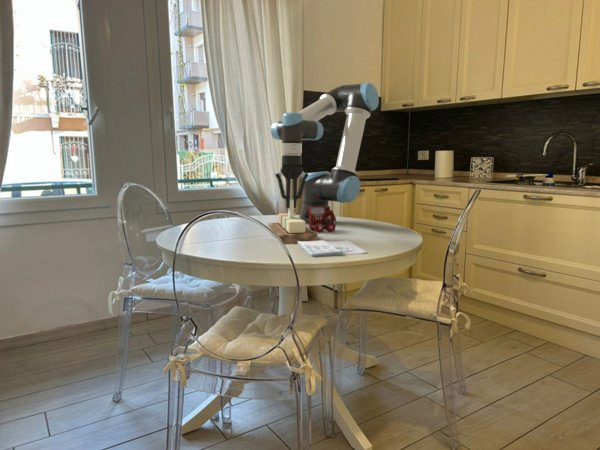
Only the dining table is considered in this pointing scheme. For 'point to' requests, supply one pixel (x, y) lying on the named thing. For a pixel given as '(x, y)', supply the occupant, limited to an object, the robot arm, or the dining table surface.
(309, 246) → the printed paper napkins
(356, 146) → the robot arm
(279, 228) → the board
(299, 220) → the cream yellow square block
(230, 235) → the dining table surface
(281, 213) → the salmon orange square block
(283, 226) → the pale green square block
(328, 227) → the toy fire truck
